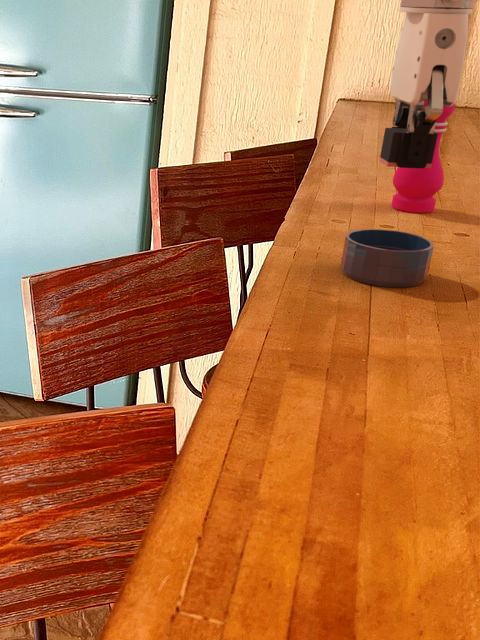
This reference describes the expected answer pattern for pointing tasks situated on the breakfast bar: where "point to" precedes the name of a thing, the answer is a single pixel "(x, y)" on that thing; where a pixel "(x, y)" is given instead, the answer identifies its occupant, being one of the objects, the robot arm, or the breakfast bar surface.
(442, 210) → the breakfast bar surface
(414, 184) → the pepper mill
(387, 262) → the bowl
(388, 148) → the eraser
